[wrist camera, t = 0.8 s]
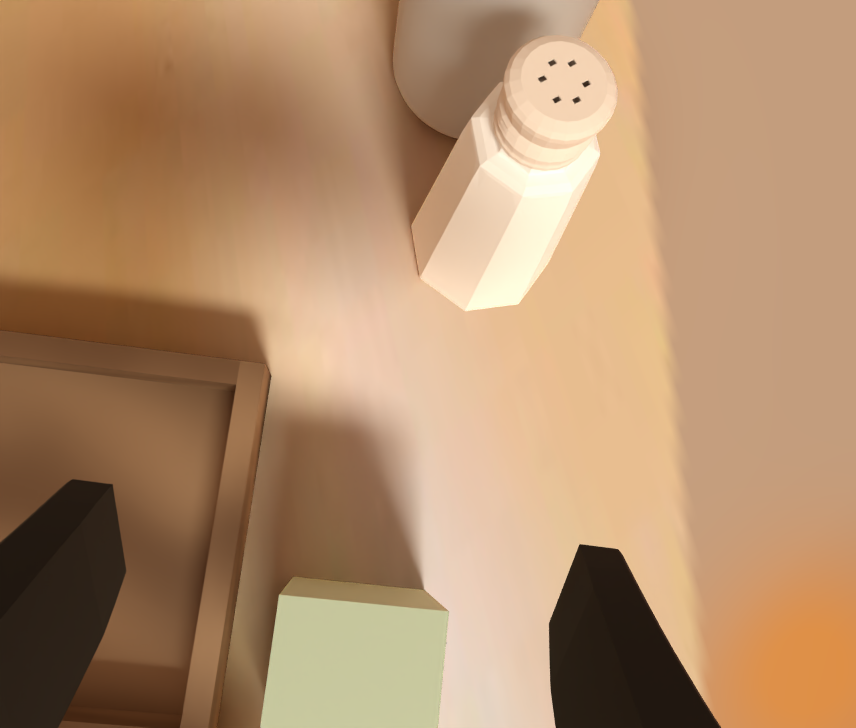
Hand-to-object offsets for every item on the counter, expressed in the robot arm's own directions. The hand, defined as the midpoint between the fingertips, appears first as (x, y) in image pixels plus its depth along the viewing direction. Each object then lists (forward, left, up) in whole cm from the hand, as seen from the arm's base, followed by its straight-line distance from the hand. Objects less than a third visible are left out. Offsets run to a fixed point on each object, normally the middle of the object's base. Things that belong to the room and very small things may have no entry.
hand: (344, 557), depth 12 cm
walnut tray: (-1, +9, -14) cm, 17 cm away
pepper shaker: (+11, -4, -15) cm, 19 cm away
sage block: (-4, -1, -14) cm, 15 cm away
